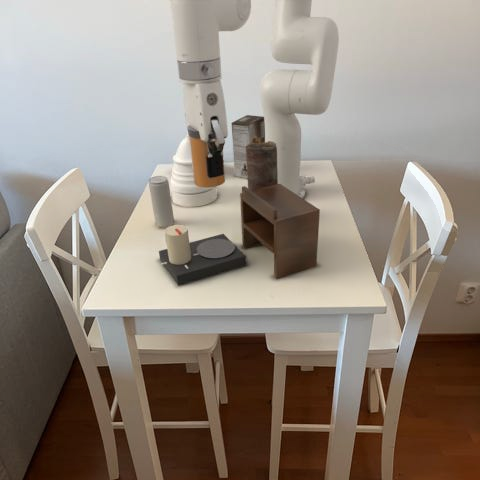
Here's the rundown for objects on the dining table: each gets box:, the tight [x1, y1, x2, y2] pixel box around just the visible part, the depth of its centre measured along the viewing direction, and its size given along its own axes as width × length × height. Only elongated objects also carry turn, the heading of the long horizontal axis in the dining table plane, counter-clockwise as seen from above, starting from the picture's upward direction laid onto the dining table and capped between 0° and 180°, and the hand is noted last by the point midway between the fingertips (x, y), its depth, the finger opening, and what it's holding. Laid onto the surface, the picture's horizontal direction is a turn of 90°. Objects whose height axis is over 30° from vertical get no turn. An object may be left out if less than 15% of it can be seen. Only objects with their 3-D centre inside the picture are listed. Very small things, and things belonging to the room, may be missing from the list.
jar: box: [186, 125, 226, 188], centre depth 91 cm, size 7×7×11 cm
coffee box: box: [231, 114, 265, 179], centre depth 141 cm, size 9×6×16 cm
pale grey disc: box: [197, 239, 236, 259], centre depth 104 cm, size 9×9×1 cm
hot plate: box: [158, 233, 247, 287], centre depth 103 cm, size 18×12×3 cm
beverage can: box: [148, 175, 175, 229], centre depth 117 cm, size 5×5×12 cm
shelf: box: [239, 184, 321, 280], centre depth 101 cm, size 10×16×15 cm, turn 26°
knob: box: [164, 224, 191, 265], centre depth 99 cm, size 5×5×7 cm
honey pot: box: [169, 132, 218, 208], centre depth 128 cm, size 13×13×18 cm
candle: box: [246, 141, 278, 190], centre depth 112 cm, size 8×7×20 cm
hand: (208, 169), depth 93 cm, fingers closed on jar, 6 cm apart
